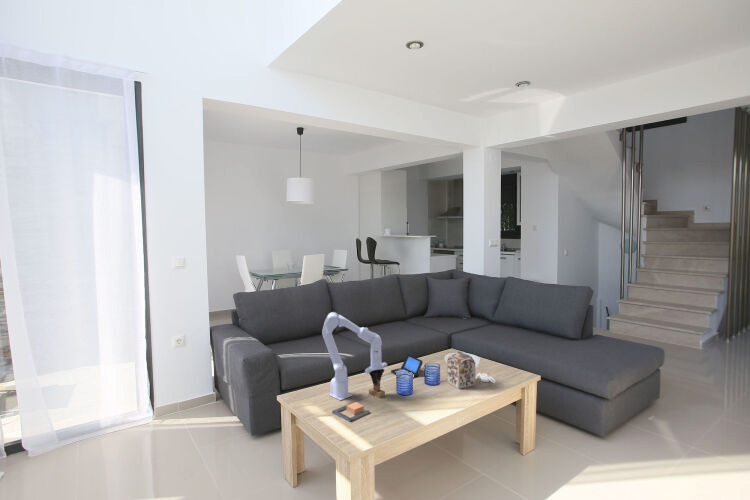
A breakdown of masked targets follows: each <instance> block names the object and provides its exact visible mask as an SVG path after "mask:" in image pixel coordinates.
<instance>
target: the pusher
mask: <svg viewBox="0 0 750 500" xmlns="http://www.w3.org/2000/svg"><path fill="white" fill-rule="evenodd" d="M372 384H373V383H372ZM368 395H371V396H373V397H376V398H378V399H381V398H384V397H386V391H385V390H383V389H381V380H377V384H376V385H375V384H373V387H371V388H369V389H368Z"/></svg>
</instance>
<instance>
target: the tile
mask: <svg viewBox="0 0 750 500" xmlns="http://www.w3.org/2000/svg"><path fill="white" fill-rule="evenodd" d="M351 403H352V404H350V403H348V404H349V405H348V404H346V405H347V409H346V412H348V413H349V414H351V415H353V416H355V415H358V414H360V413H362V412H364V411H365V405H363V404H362V403H360V402H357V401H355V402H351Z"/></svg>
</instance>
